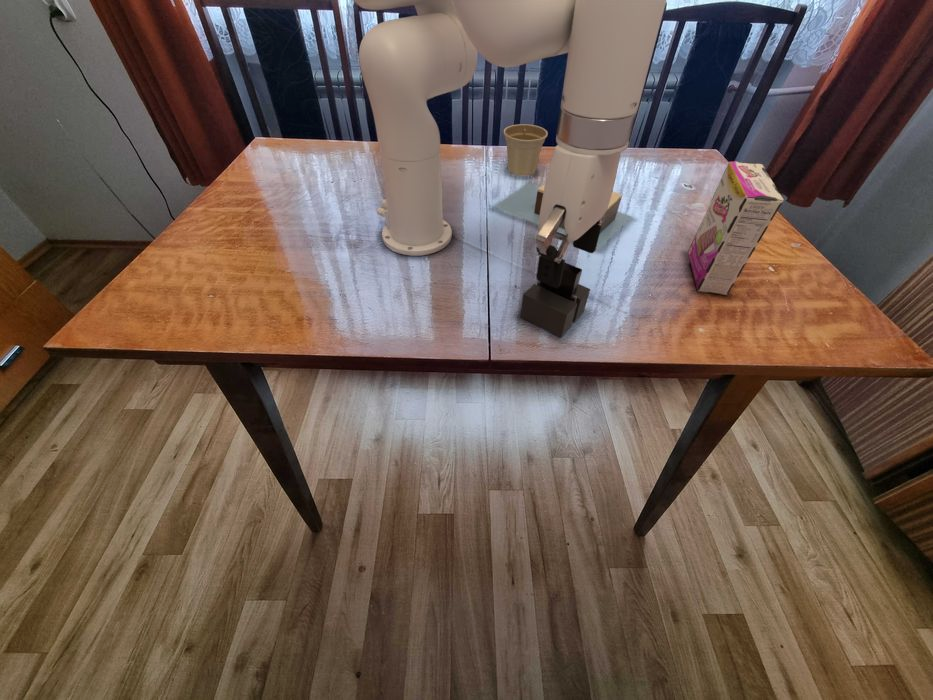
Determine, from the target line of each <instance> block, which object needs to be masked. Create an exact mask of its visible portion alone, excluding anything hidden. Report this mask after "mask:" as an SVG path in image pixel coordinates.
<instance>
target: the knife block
mask: <svg viewBox="0 0 933 700" xmlns="http://www.w3.org/2000/svg"><path fill="white" fill-rule="evenodd" d="M538 283H539V281H538V280H537V283H533V284H532V285H531V286H530V287H529V288H528V289H527V290H526V291H525V292H524V293H523V294H522V301H521V307H520V313H519V318H521V319H523V320H525V321H526V322H529V323H531V324H533V325H534V326H537V327H538V328H541V329H542V330H544V331H546V332H548V333H551V334H552V335H554V336H556V337H558V338H560V339H562V338H563V336H564V335H565V334H567V332H568V331H569V330H570V328H572V326H573V325H572V324H573V323H574V324H575V323H576V322H577V321H578V320H579V319H580V317H581V316H582V315H583V314H584V312H585V310H586V306H587V302H588V299H589V295H590V292H591V288H589V287H587V286H585V285H582V284H580V283H579V284H578V288H577V291H576V294H575V296H577V300H576V303H575V302H573V301H571V300H569V299H566V298H564V297H562V296H560V295H558V294H555V293H553V292H551V291H549V290H547V289H545V288H542V287H540V286H538Z"/></svg>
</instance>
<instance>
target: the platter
mask: <svg viewBox="0 0 933 700" xmlns="http://www.w3.org/2000/svg"><path fill="white" fill-rule="evenodd" d="M541 186H542V185H541V184H538V183H536V182H532V181H531V182H529V183H527V184H526V185H524V186H523V187H521V188H520V189H518V190H517V191H515V192H514V193H512V194H511V195H509V196H508V197H506V198H505V199H504V200H502V201H500V202H499V203H497V204H496V205H494V206H493V207H494V208H495V209H498V210H501V211H502V212H505V213H508V214H510V215H513V216H515V217H518V218H520V219H523V220H525V221H529V222H531V223H534V224H536V225H538V221H539V215H538V214H535V213H534V211H535V204H536V197H537V190H538V188H539V187H541ZM630 218H632V216H631V215H628V214H626V213H622V212H619V211H617V214H616V218H615V220H614V221H613V222H611V223H610V224H609V225H608V226H607V227H606V228H605V229H604V230H603V231H602V232H601V233H600V234H599V238H598V242H597V246H596V248H598V249H600V248H602V246H603V245H604V244H605V243H606V242H607V241H608V240H610V238H611V237H612V236H613V235H614V234H615V233H616V232H617V231H618V230H620V229H621V227H623V225H624V224H625V223H626V222H627V221H628V220H630ZM556 232H559V233H562V234H564V235H567V233H566V232H565V230H564V229H562V228H558V230H557V231H556Z"/></svg>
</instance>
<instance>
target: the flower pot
mask: <svg viewBox="0 0 933 700" xmlns="http://www.w3.org/2000/svg"><path fill="white" fill-rule="evenodd" d="M548 134H549V133H548V130H547V129H545V128H544V127H541V126H539V125H536V124H529V123H523V124H522V123H520V124H519V123H518V124H513V125H512V124H511V125H509V126H506V127H505V128H504V129H503V136H504V137H505V138H504V139H505V142H506V156H507V171H508V172H509V173H510V174H512V175H515V176H520V177H526V176H528V177H529V176H531V175H534V174H535V173H536V170H537V166H538V162H539V159H540V155H541V152H542V148H543V144H544V143H545V141H546V138H547V137H548Z"/></svg>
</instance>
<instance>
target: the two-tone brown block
mask: <svg viewBox="0 0 933 700" xmlns="http://www.w3.org/2000/svg"><path fill="white" fill-rule="evenodd" d="M544 188H545V183H544V184H542V185H541V187H539V188H538V190H537V197H536V204H535V211H534V213H535V214H538V215H540V209H541V203H542V198H543V193H544Z"/></svg>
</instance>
